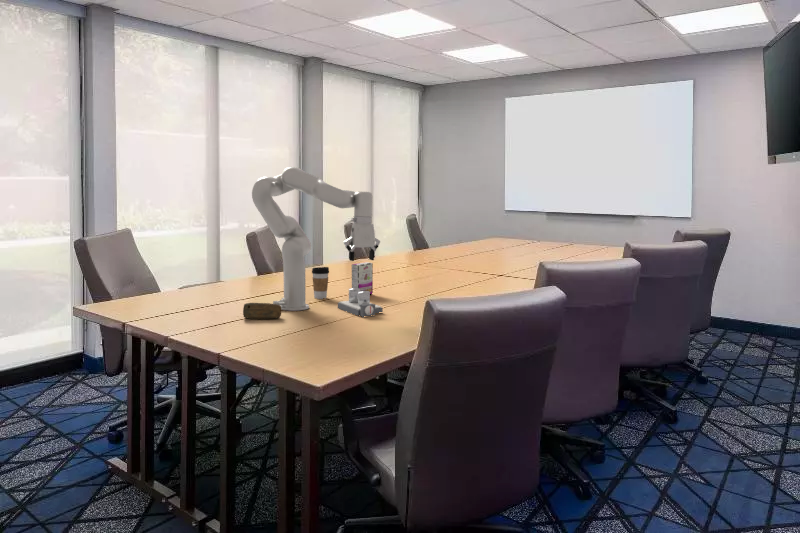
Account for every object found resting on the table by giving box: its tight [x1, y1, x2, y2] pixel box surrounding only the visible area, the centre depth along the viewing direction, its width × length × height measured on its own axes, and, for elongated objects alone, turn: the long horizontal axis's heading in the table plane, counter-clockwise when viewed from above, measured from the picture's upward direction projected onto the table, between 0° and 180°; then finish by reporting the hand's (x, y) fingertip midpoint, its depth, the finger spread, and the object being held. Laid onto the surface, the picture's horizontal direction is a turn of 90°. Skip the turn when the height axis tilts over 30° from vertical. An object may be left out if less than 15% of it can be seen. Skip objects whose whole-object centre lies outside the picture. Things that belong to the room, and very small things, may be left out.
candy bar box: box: [351, 261, 374, 295], centre depth 296 cm, size 11×5×16 cm, turn 143°
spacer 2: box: [358, 291, 371, 306], centre depth 256 cm, size 5×5×6 cm
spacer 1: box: [348, 287, 360, 303], centre depth 263 cm, size 5×5×6 cm
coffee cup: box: [311, 266, 330, 300], centre depth 288 cm, size 8×8×15 cm
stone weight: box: [242, 302, 282, 320], centre depth 240 cm, size 15×7×7 cm, turn 100°
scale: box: [337, 300, 384, 318], centre depth 258 cm, size 12×22×5 cm, turn 33°
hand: (361, 260), depth 255 cm, fingers open, 9 cm apart
